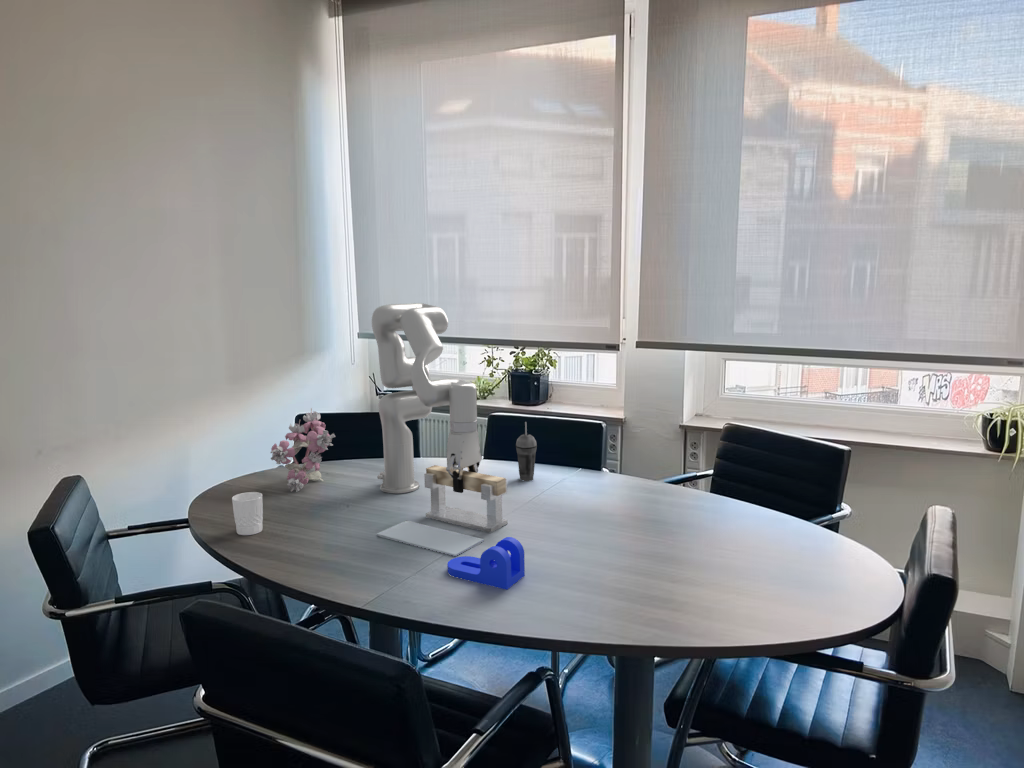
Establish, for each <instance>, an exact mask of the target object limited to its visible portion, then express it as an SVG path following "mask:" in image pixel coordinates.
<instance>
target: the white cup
mask: <svg viewBox="0 0 1024 768" xmlns="http://www.w3.org/2000/svg"><path fill="white" fill-rule="evenodd" d="M263 501H264V500H263V493H261V492H259V491H258V492H257V491H249V492H242V493H237V494H235V495H233V496H232V497H231V503H232V509H233V517H234V522H235V528H236V533H237V534H238V535H239V536H252V535H257V534H259V533H261V532H262V531H263V529H264V528H263V520H264V518H263V517H264V512H263V511H264V509H263V508H264V507H263V506H264V505H263Z"/></svg>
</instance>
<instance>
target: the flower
mask: <svg viewBox="0 0 1024 768" xmlns="http://www.w3.org/2000/svg"><path fill="white" fill-rule="evenodd" d="M312 410H313V407H310V412H306V413H305V414H304V415H303V416H302V419H303V421H304V422H305V423H304V424H300V423H301V420H299V421H298V423H294V425H292V424H291V423H290V424H289V427H288V430H289V431H291V432H287V433H286V434H285V435H284V438H285V440H284V439H283V440H280V441H279V444H278V445H277V443H274V444H273V445H272V447H271V448H270V449H271V451H270V454H272V455H271V456H272V457H270V460H271V461H275V464H277V465H284V466H285V468H287V470H288V473H287V477H286V480H287V482H288V483H287V485H286V487H288V490H289V489H290V490H289V491H290V492H293V491H294V490H295V493H297V492H300V490H302V489H303V487H304V486H305V485H307V484H308V483H309V481H310V480H311V481H319V480H320V481H322V482H324V479H323V478H322V473H321V472H320V471H319V470H320V469H321V467H320V466H321V462H322V458H323V456H322V453H324V452H325V451H328V450H329V449H328V447H332V446H334V444H333V443H332V442H333V441H332V440H333V438H336V435H335V433H331V434H330V433H329V431H328V430H325V429H326V424H325V422H322V421H320V420H321V413H320V412H317V411H314V410H313V411H312ZM310 429H311V430H310ZM309 430H310V431H309ZM303 433H304V434H307V435H304V434H303ZM288 440H289V441H290V442H291V441H293V445H292V446H291V447H289V446H290V442H289V441H288ZM302 448H306V451H305V456H304V457H303V458H302V459H301V463H302V467H301V465H300V464H299V461H298V460H297V458H296V457H295V455H297V454H298V453H299V452H300V450H301V449H302ZM289 458H292V460H293V462H292V460H291V459H289ZM313 468H314V471H311V469H313ZM309 471H311V472H309ZM308 472H309V473H308Z"/></svg>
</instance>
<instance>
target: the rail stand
mask: <svg viewBox="0 0 1024 768" xmlns="http://www.w3.org/2000/svg"><path fill="white" fill-rule="evenodd" d="M423 477H424V488H425V489H430V508H431V509H430V511H429V512H426V513H425V518H426V517H427V518H426V519H430V518H432V519H431V520H434V519H436V520H435V521H438V520H441V521H440V522H443V521H444V522H443V523H447V522H448V524H451V523H452V524H451V525H455V524H456V526H460V525H461V527H464V528H468V527H469V529H472V528H473V530H477V529H478V531H481V530H482V532H485V531H486V533H489V532H492V533H493V532H496V531H497V530H499V529H501V528H503V527H504V526H506V525H508V519H504V518H503V496H504V495H506V494H507V493H508V479H507V478H506V492H505V493H503V494H501V495H499V496H495V495H494V487H493V485H490V484H485V483H484V484H482V485H481V493H480V496H481V498H480V499H481V500H483V501H486V514H482V513H478V512H473V511H469V510H465V509H464V510H463V509H460V508H455V507H451V506H447V505H446V503H447V502H446V486H445V485H440V484H436V474H433V473H426V472H425V473H424V476H423ZM502 526H503V527H502Z"/></svg>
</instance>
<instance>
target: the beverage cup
mask: <svg viewBox="0 0 1024 768" xmlns="http://www.w3.org/2000/svg"><path fill="white" fill-rule="evenodd" d="M524 426H525V427H524V433H523V434H521V435H520V436H518V438H517V439H516V443H515V449H516V453H517V454H516V455H517V462H518V464H517V466H518V474H519V480H520V481H522V480H524V481H523V482H530V481H529V480H531V481H533V480H534V475H535V465H536V464H535V462H536V452H537V447H538V445H537V440H536V439H535V437H534V436H533V435H532V434H529V433H528V432H527V431H528V429H527V427H528V426H527V421H525V422H524Z"/></svg>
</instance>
